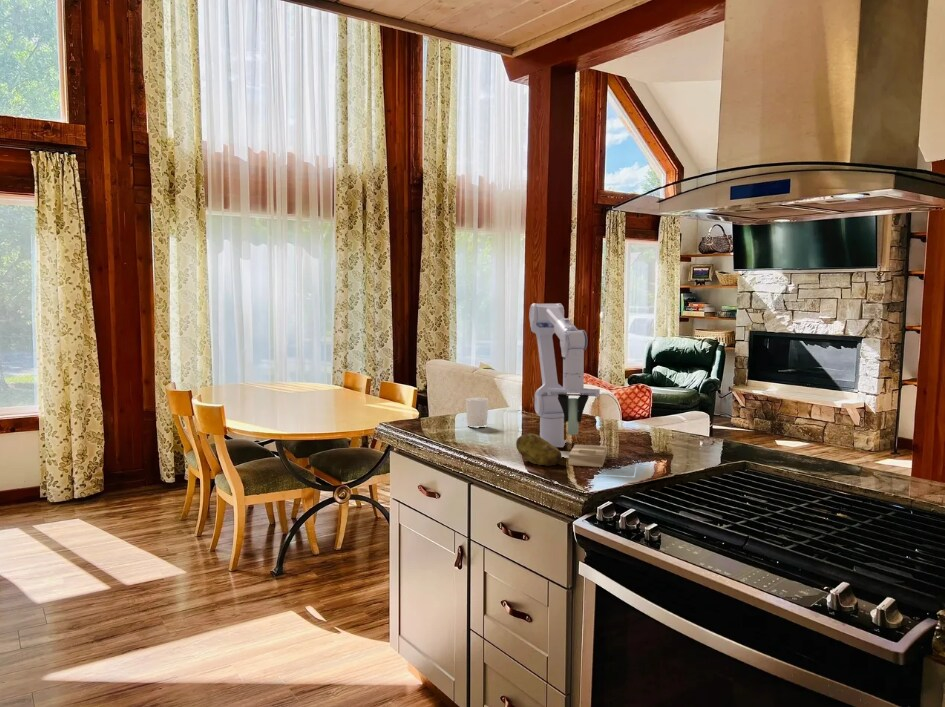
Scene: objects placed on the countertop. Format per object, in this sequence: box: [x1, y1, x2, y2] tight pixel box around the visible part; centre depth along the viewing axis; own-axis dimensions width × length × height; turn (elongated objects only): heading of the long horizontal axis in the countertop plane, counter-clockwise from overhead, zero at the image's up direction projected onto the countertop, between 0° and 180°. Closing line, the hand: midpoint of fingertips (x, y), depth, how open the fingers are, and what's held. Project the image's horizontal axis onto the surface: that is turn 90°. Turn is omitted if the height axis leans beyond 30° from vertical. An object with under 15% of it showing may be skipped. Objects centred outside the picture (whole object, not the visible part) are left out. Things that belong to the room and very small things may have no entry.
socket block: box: [568, 444, 607, 468], centre depth 198 cm, size 14×9×3 cm, turn 165°
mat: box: [559, 450, 571, 459], centre depth 205 cm, size 8×6×1 cm
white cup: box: [465, 396, 489, 427], centre depth 250 cm, size 8×8×10 cm
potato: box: [515, 432, 562, 467], centre depth 194 cm, size 8×13×8 cm, turn 36°
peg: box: [567, 397, 579, 436], centre depth 200 cm, size 3×3×10 cm
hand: (573, 421), depth 200 cm, fingers closed on peg, 3 cm apart
